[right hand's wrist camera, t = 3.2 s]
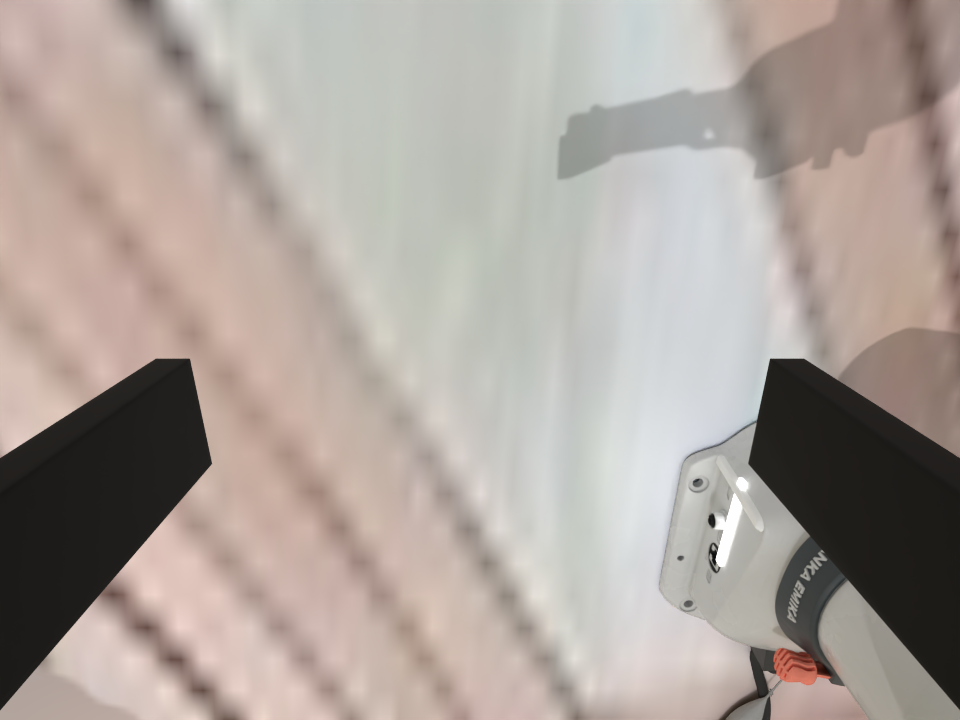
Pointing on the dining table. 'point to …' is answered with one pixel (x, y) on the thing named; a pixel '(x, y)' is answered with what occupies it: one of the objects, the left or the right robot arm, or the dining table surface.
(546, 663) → the dining table surface
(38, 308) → the dining table surface
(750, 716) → the airplane
